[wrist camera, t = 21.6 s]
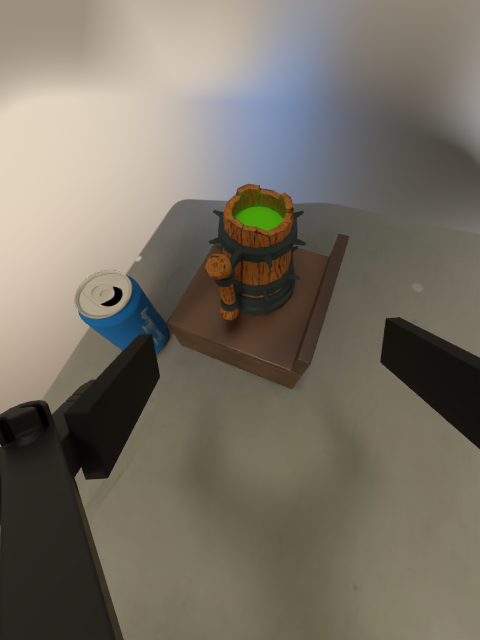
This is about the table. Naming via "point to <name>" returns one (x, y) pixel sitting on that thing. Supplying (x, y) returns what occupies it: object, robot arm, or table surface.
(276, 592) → the table surface
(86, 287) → the beverage can
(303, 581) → the table surface
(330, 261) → the brown wooden box
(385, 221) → the table surface
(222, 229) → the mug
